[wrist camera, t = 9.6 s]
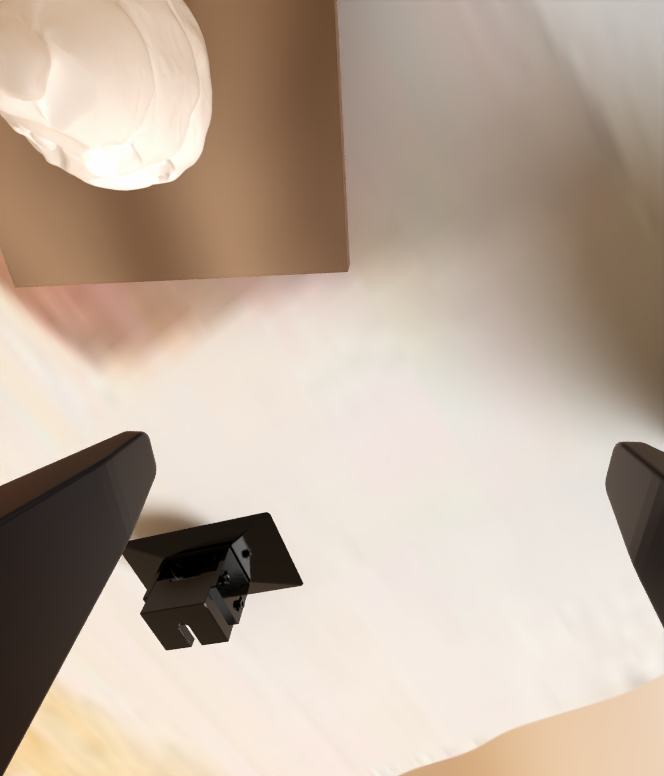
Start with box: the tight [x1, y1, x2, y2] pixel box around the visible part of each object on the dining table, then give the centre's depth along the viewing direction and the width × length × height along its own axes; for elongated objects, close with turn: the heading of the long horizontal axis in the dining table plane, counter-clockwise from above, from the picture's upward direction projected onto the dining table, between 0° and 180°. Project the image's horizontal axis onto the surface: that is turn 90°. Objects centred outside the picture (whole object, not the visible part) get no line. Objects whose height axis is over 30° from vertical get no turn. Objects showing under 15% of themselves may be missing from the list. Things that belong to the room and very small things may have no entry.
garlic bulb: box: [0, 0, 212, 190], centre depth 11 cm, size 6×6×5 cm
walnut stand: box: [0, 0, 350, 288], centre depth 15 cm, size 12×12×3 cm
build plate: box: [122, 512, 303, 650], centre depth 25 cm, size 12×7×5 cm, turn 108°
